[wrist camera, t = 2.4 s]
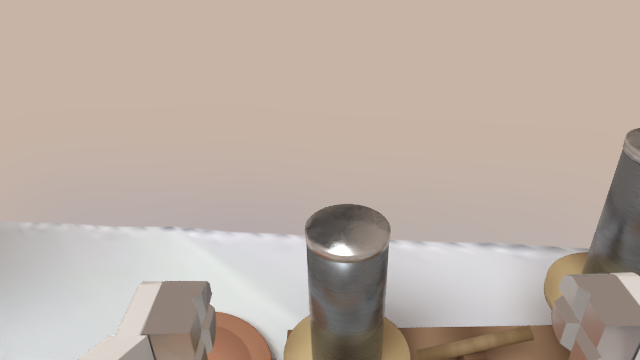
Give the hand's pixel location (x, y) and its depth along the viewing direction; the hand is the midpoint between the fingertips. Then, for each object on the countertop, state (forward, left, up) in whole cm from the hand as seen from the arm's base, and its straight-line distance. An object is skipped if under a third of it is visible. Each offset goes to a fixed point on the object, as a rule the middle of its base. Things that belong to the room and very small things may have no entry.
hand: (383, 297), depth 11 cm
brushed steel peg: (0, +15, -20) cm, 25 cm away
